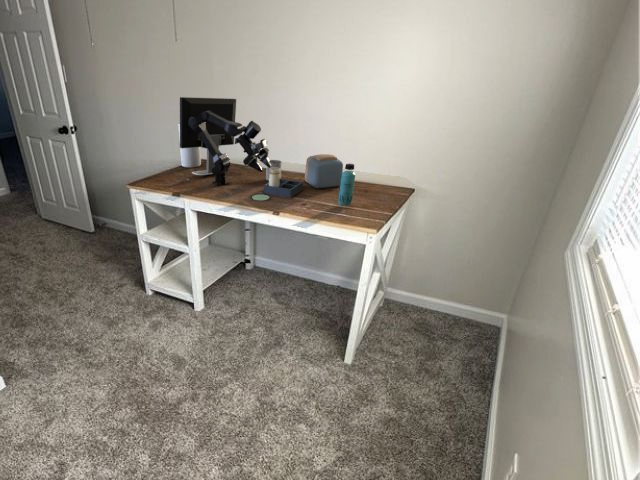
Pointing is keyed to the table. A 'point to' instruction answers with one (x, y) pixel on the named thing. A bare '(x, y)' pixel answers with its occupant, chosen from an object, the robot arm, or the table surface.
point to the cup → (273, 164)
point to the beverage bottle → (347, 186)
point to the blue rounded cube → (323, 171)
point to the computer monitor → (218, 134)
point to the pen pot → (274, 176)
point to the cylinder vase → (190, 156)
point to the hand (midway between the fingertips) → (266, 169)
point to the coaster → (260, 197)
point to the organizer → (284, 188)
